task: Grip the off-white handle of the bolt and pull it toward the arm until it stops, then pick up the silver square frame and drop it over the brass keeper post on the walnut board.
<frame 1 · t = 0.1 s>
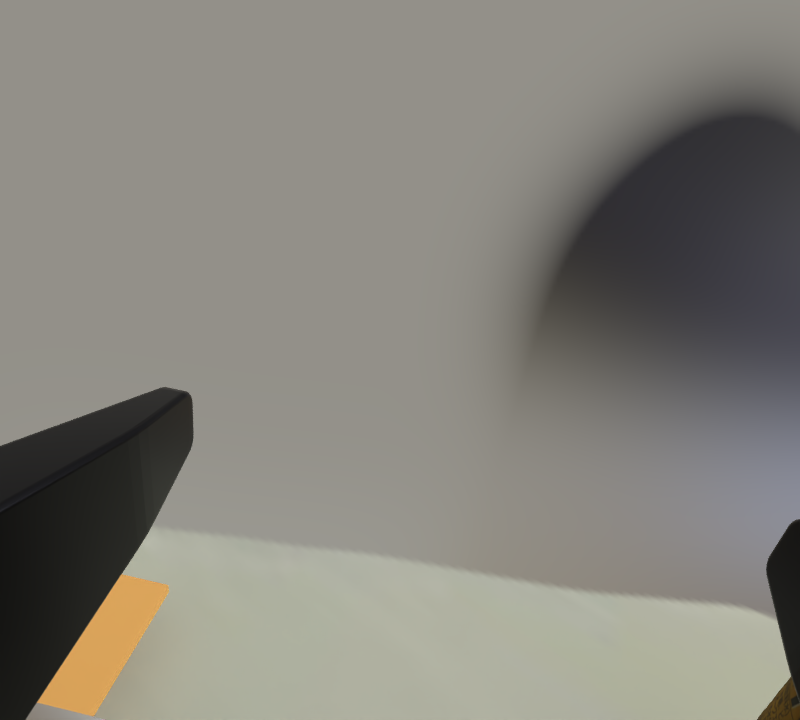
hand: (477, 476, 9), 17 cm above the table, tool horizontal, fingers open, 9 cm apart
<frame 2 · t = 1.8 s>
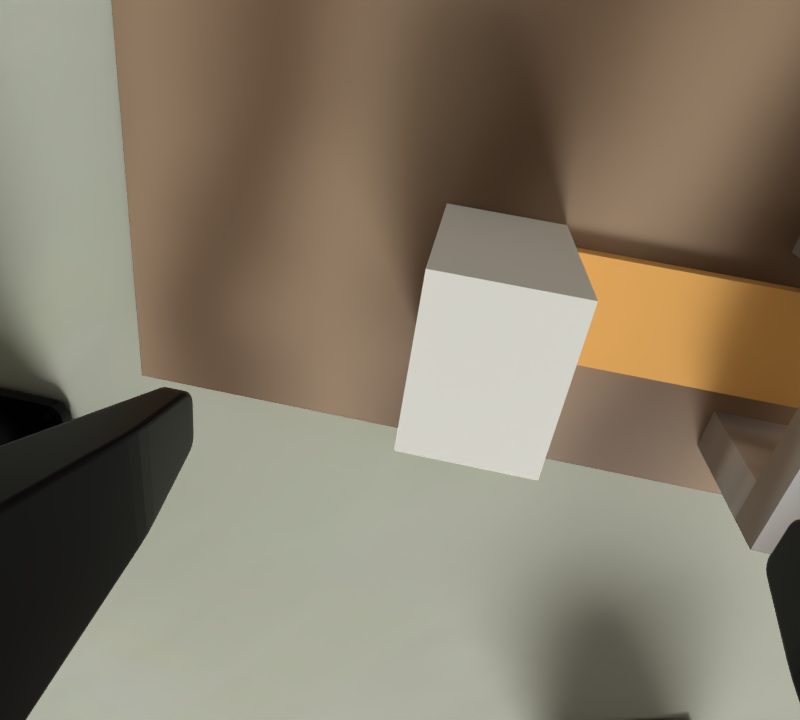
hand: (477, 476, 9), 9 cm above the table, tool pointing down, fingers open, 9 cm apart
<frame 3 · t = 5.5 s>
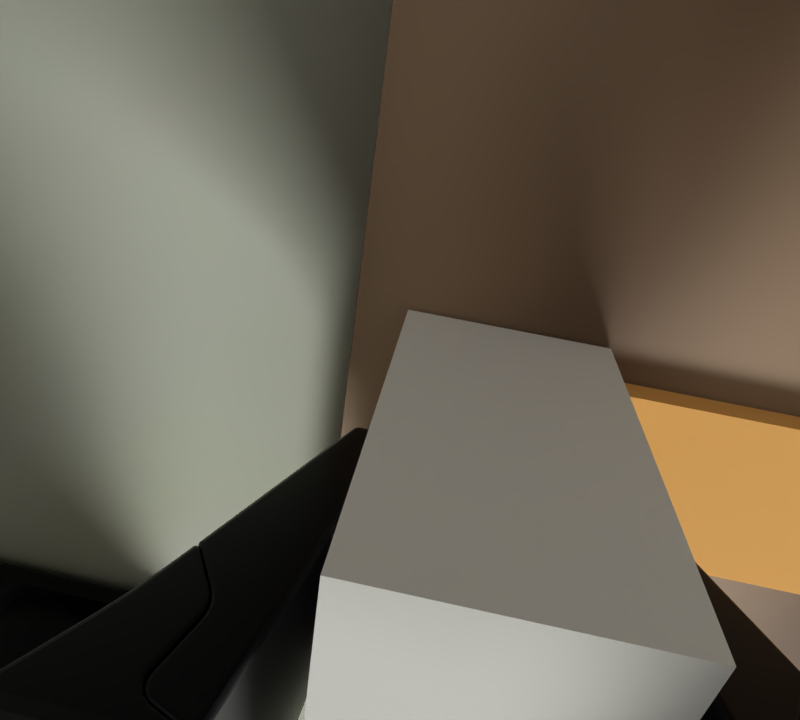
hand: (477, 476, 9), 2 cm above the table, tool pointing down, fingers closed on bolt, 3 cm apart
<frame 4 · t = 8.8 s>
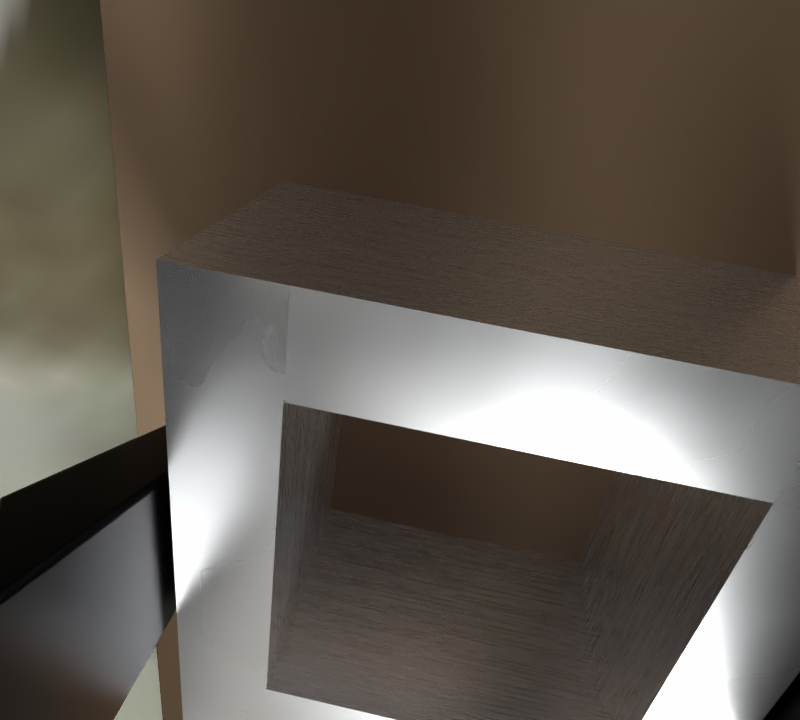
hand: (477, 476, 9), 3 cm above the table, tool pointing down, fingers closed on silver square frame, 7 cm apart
board: (609, 611, 13), on the table
silver square frame: (479, 434, 10), point 1 cm above the table, touching board, gripper
when the fingers open (5 cm above the table, at t = 12.7 s): silver square frame drops 3 cm, resting on board.
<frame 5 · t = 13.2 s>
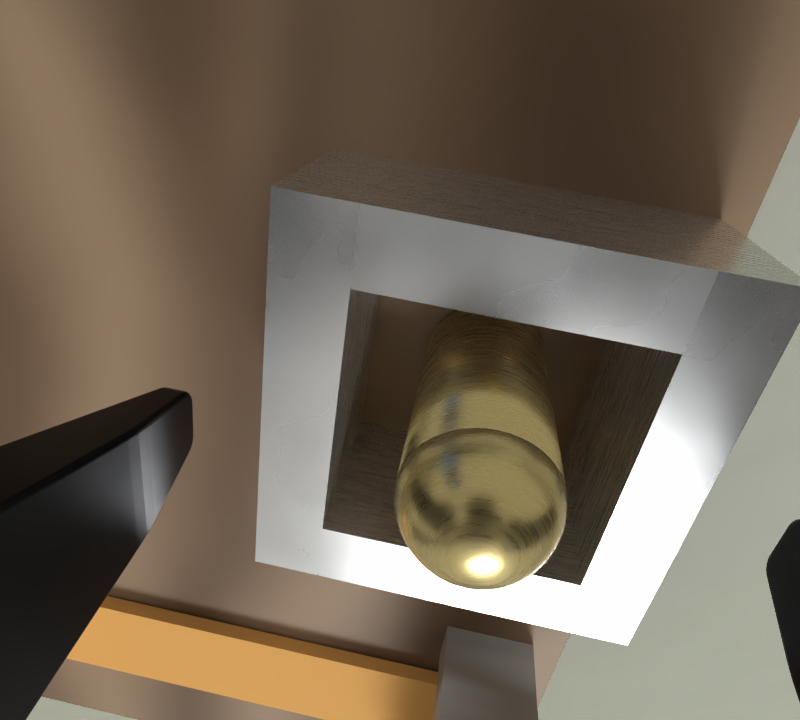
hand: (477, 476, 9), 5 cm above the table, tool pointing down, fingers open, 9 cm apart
board: (234, 444, 16), on the table
silver square frame: (482, 352, 12), point 1 cm above the table, touching board
keeper post: (485, 324, 13), resting on board
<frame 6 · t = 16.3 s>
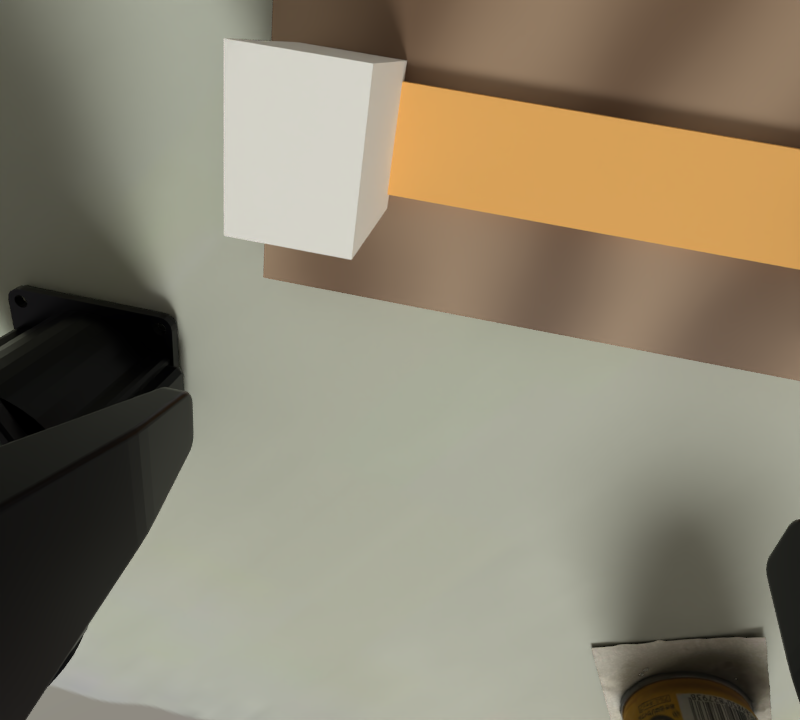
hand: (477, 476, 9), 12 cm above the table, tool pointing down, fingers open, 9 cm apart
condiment: (683, 692, 28), on the table
bolt: (614, 193, 14), point 4 cm above the table, slide at 7.7 cm
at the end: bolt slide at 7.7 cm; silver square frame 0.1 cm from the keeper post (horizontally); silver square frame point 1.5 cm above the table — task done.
